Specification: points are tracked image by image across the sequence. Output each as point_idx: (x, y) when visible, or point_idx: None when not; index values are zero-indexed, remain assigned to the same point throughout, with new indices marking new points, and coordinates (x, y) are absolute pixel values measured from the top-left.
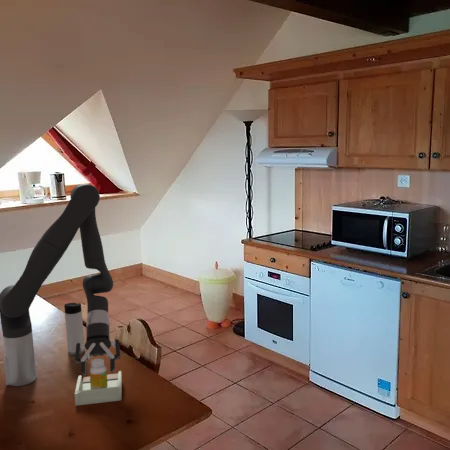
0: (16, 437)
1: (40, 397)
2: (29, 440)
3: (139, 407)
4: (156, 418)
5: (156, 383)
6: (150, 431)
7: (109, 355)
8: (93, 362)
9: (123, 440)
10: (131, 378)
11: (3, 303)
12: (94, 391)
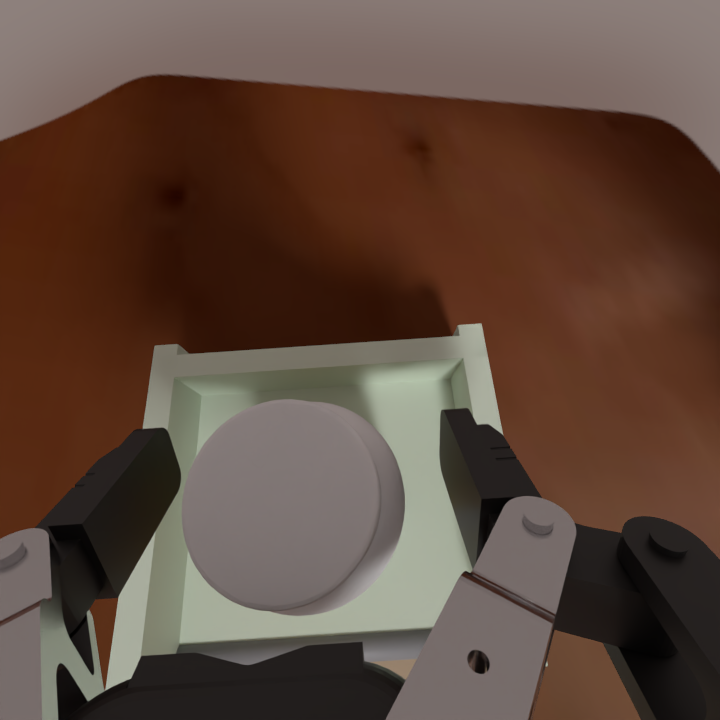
0: (652, 152)
1: None
2: (583, 131)
3: (108, 292)
4: (53, 200)
5: None
6: (101, 130)
7: (36, 587)
8: (340, 445)
9: (210, 98)
10: None
11: None
12: (343, 347)
